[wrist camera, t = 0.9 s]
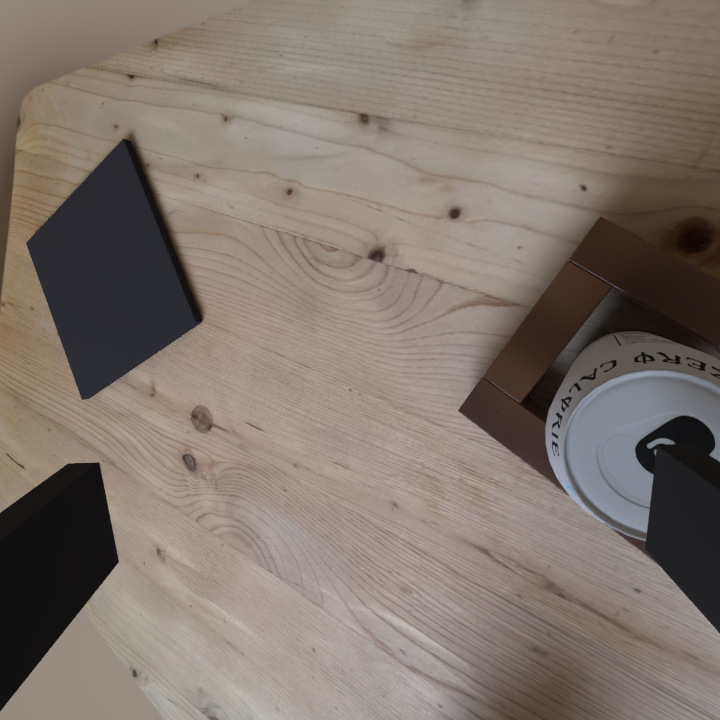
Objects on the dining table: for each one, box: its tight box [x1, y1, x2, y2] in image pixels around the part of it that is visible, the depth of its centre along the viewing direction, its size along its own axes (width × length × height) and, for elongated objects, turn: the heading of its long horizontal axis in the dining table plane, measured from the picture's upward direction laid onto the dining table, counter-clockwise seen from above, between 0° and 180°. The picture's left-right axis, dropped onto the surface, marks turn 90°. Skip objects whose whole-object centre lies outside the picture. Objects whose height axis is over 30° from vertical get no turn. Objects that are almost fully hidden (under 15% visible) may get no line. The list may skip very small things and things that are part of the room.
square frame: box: [458, 217, 720, 566], centre depth 25 cm, size 13×13×3 cm
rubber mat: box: [26, 139, 202, 400], centre depth 45 cm, size 18×18×1 cm
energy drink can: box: [545, 331, 720, 541], centre depth 19 cm, size 6×6×15 cm
